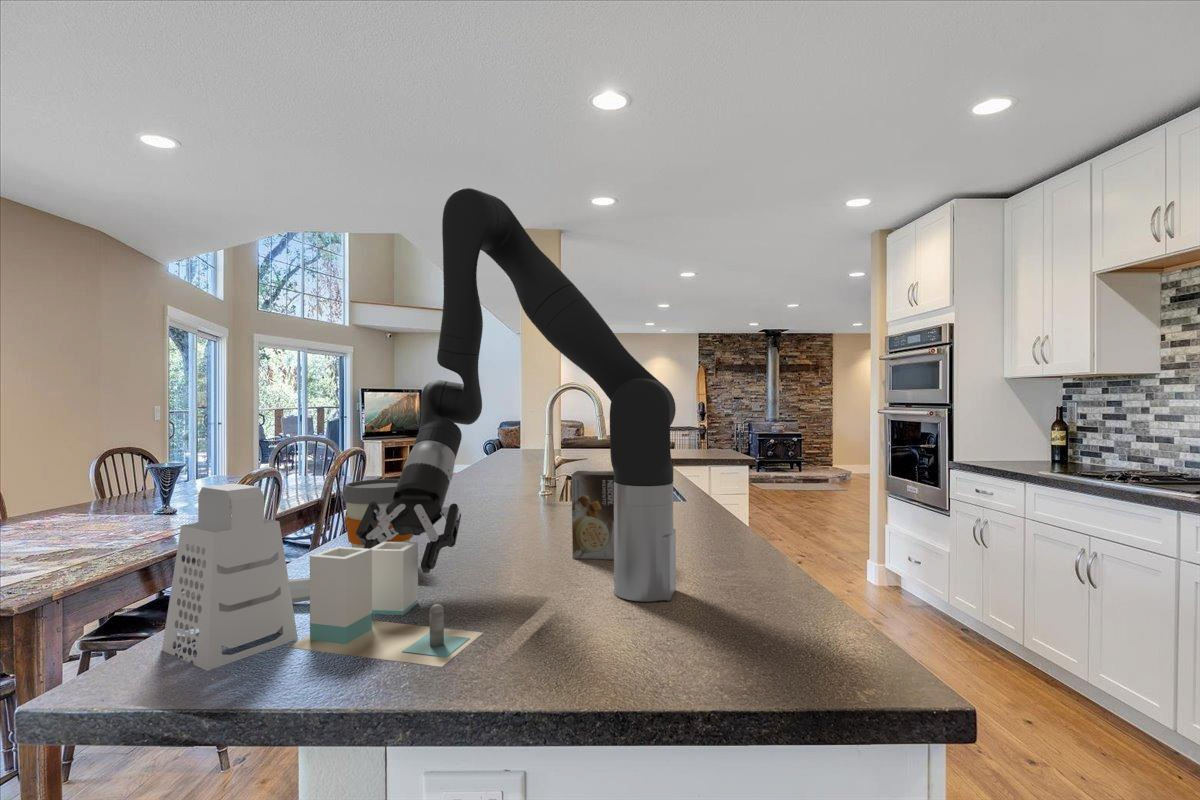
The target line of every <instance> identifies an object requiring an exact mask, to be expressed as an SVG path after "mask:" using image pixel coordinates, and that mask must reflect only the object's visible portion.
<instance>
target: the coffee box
mask: <svg viewBox="0 0 1200 800" xmlns="http://www.w3.org/2000/svg"><path fill="white" fill-rule="evenodd" d="M571 524H572V525H571V531H572V532H571V533H572V534H571V535H572V536H571V537H572V540H571V541H572V546H571V547H572V559H582V560H583V559H586V560H587V559H588V560H590V559H591V560H593V559H594V560H614V471H613V470H608V471H607V470H576V471H574V472H573V474H571Z"/></svg>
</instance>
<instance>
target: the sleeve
mask: <svg viewBox="0 0 1200 800" xmlns="http://www.w3.org/2000/svg"><path fill="white" fill-rule="evenodd" d="M371 549H372V615H388V616H393V615H395V616H404V615H406V614H407V613H408V612H409V611H411V609H412V608H414V607H416V605H418V603H419V542H418V541H415V542H414V541H410V542H382V543H380V544H378V545H376V546H374V547H373V548H371Z"/></svg>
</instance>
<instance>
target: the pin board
mask: <svg viewBox="0 0 1200 800" xmlns="http://www.w3.org/2000/svg"><path fill="white" fill-rule="evenodd" d="M429 608H430V609H429V626H428V625H427V626H425V625H415V624H406V623H398V622H389V621H379V620H372V629H371V630H369V631H368V632H366V633H364V634H362V635H361V636H359V637H357V638H356V639H354V640H352V641H350V642H349V643H347V644H340V643H332V642H324V641H316V640H310V635H308V636H305V637H304V638H301V639H300V640H298V641H295V642H294V643H293V644H290V645H289V646H287V648H288V649H289V648H290V649H295V650H296V649H297V650H304V651H310V652H311V651H314V652H320V653H327V654H335V655H343V656H349V657H359V658H368V659H374V660H375V659H376V660H382V661H392V662H398V663H406V664H414V665H421V666H422V665H423V666H430V667H437V668H438V667H439V668H442V667H444V666H446V664H447V663H449V662H450V661H452V659H454V658H455V657H457V655H459V654H460V653H461V652H463V651H464V650H465V649H466V648H467V647H469V645H471V644H472V643H473V642H474V641H475V640H477V639H478V638H479V637H480V636H482V635H483V634H484V632H480V631H473V630H463V629H452V628H445V622H444V621H445V620H444V619H445V609H444V607H443V605H442V604H441V603H440V604H439V603H435V604H433V605H432V606H431V607H429Z"/></svg>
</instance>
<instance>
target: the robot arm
mask: <svg viewBox="0 0 1200 800" xmlns="http://www.w3.org/2000/svg"><path fill="white" fill-rule="evenodd" d="M441 219H442V220H441V221H442V222H441V223H442V225H441V226H442V227H441V228H442V231H441V235H442V237H441V238H442V267H443V268H442V271H443V272H442V273H443V275H442V276H443V303H442V315H441V325H440V332H439V340H438V346H437V347H438V349H437V355H436V360H437V363H438V365H439V366H440V367H442V368H444V369H446V370H449V371H451V372H454V373H455V374H457V375H458V376H459V377H460V379H461V380H462V383H458V382H455V381H454V382H453V381H447V380H441V379H435V380H432V381H428V382H427V384H426V385H425V386H424V387H423V389H422V392H421V397H420V408H421V409H420V410H421V411H420V412H421V415H420V416H421V417H420V425H419V431H418V433H417V436H416V439H415V441H414V444H413V446H412V449H411V450H410V451H409V454H408V456H407V458H406V461H405V463H404V465H403V469H402V470H401V474H400V476H399V478H398V479H399V481H398V484H397V487H396V489H395V492H394V497H393V500H392V502H391V503H390V504H389V505H388V506H379V505H378V504H377V503H376V502H375V501H373V502H371V503H370V504H369V506H368V508H367V510H366V512H365V514H364V516H363V518H362V520H361V522H360V524H359V527H358V529H357V531H356V535H357V536H358V538H359V540H360V541H361V543H362V544H365V546H364V548H366V549H371V548H373V547H374V546H376V545H378V544H380V543H382V542H385V541H387V540H391V539H392V538H394V537H395V536H396V535H397V534H398V533H399V535H408V534H412V535H413V536H421V534H424V533H425V534H426V536H427V538H428V540H429V542H427V543H426V546H425V549H424V551H423V555H422V559H421V562H420V569H421V571H422V572H423V574H430V572H431V570H434V568H435V567H436V566H437V565H436V564H437V560H438V559H439V554H440V551H441V550H442V549H443V548H446V547H449V548H453V547H455V546H456V543H457V538H458V532H459V528H460V523H461V519H462V518H461V517H462V513H461V511H460V508H459V506H458V504H457V503H455V502H454V503H451V504H450V505H449V506H445V507H444V503H445V501H446V500H445V499H446V497H447V494H448V490H449V487H450V483H451V482H452V479H453V475H454V471H455V462H456V458H457V455H458V451H459V448H460V446H461V442H462V439H463V438H462V437H463V436H462V430H461V429H460V427H459V426H458V425H457V424H460V425H464V426H465V425H466V426H468V425H472V424H474V423H476V422H477V421H478V419H479V417H480V416H481V414H482V411H483V410H482V409H483V399H482V391H481V390H482V389H481V385H480V375H479V358H480V350H481V344H482V338H483V327H484V326H483V325H484V320H483V318H484V317H483V312H482V311H483V310H482V306H481V301H480V296H479V289H478V282H477V281H478V279H477V275H478V273H477V271H478V270H477V269H478V262H479V261H478V260H479V257H480V252H481V251H482V252H484V253H485V254H486V255H487V256H488V257H489V258H491V259H492V260H493V261H494V262H495V263H496V264H497V265H498V266H499V267H500V268H501V270H503V272H504V273H505V274H506V275H507V276H508V278H509V279H510V281H511V283H512V286H513V288H514V290H515V293H516V295H517V298H518V301H519V303H520V306H521V308H522V310H523V312H524V314H525V315H526V317H527V318H528V319H529V320H530V322H531V323H532V324H533V326H534V327H536V329H537V330H538V331H539V332H540V334H541V335H542V336H543V337H544V338H545V339H546V340H547V342H548V343H550V344H551V345H552V347H554V349H556V350H557V351H558V352H560V354H562V355H563V356H564V357H565V358H567V359H568V360H569V361H570V362H572V363H573V364H574V365H576V367H578V368H579V369H581V370H582V371H583V372H584V373H586V374H587V376H589V377H590V378H591V379H592V380H593V381H594V382H595V383H596V385H598V387H600V389H601V390H602V391H603V392H604V394H605V396H606V397H607V398H608V399H609V401H610V407H609V446H610V447H609V448H610V449H609V451H610V463H611V467H612V471H614V559H613V592H614V594H615V596H616V597H618V598H621V599H624V600H628V601H634V602H658V601H671V600H672V597H673V595H674V593H675V592H676V589H677V556H676V555H677V552H676V551H677V545H676V543H677V537H676V536H677V534H676V529H675V528H674V465H673V462H672V454H671V426H672V424H673V422H674V420H675V417H676V408H677V407H676V401H675V398H674V396H673V394H672V392H671V391H670V390H669V388H667V387H666V385H664V384H663V383H662V382H661V381H660V380H658V379H657V378H656V377H655V376H654V375H653V374H651V373H650V371H649V370H647V369H646V368H645V366H643V365H642V364H641V363H640V362H639V361H638V360H637V359H636V358H635V357H634V356H633V355H631V353H630V352H629V351H628V350H627V349H626V348H625V347H624V344H622V343H621V342H620V340H619V338H618V337H617V335H615V333H614V331H613V330H612V329H611V328H610V326H609V324H607V322H606V321H605V320H604V319H603V317H602V316H601V314H600V313H599V312H598V311H597V309H596V308H595V307H594V306H593V304H591V303H590V301H589V300H588V298H586V296H585V295H584V294H583V293H582V292H581V291H580V290H579V289H578V288H577V286H576V285H575V284H574V283H573V281H571V279H569V278H568V277H567V276H566V275H565V274H564V273H563V271H562V270H560V269H559V267H558V266H557V265H556V264H555V263H554V262H553V261H552V259H550V257H548V256H547V255H546V254H545V253H544V252H543V251H542V250H541V249H540V248H539V247H538V246H537V244H536V243H535V241H534V240H533V239H531V237H530V235H529V234H528V232H527V231H526V229H525V228H524V227H523V225H522V224H521V222H520V221H519V220H518V218H517V217H516V215H515V214H514V212H513V211H512V210H511V208H510V207H509V206H508V205H507V203H505V202H504V201H503V200H501V199H500V198H498V197H497V196H495V195H492V194H490V193H486V192H483V191H482V190H479V189H475V188H470V187H463V188H459V189H457V190H455V191H453V192H452V193H451V194H450V195H449V197H447V199H446V202H445V204H444V207H443V212H442V218H441ZM384 515H388V516H386V517H385V518H384V519H383V520H382V517H383V516H384ZM442 517H443V518H444V520H445V526H444V530H443V533H442V534H438V532H437V531H436V530H435V528H434V525H435V524H436V523H437V522H439V521H440V520H441V519H442ZM378 521H380V522H379V523H378ZM377 523H378V526H377V527H376V525H377ZM390 524H392V526H393V528H391V529H390V530H389V529H388V527H389V525H390ZM379 535H380V536H379Z"/></svg>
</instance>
